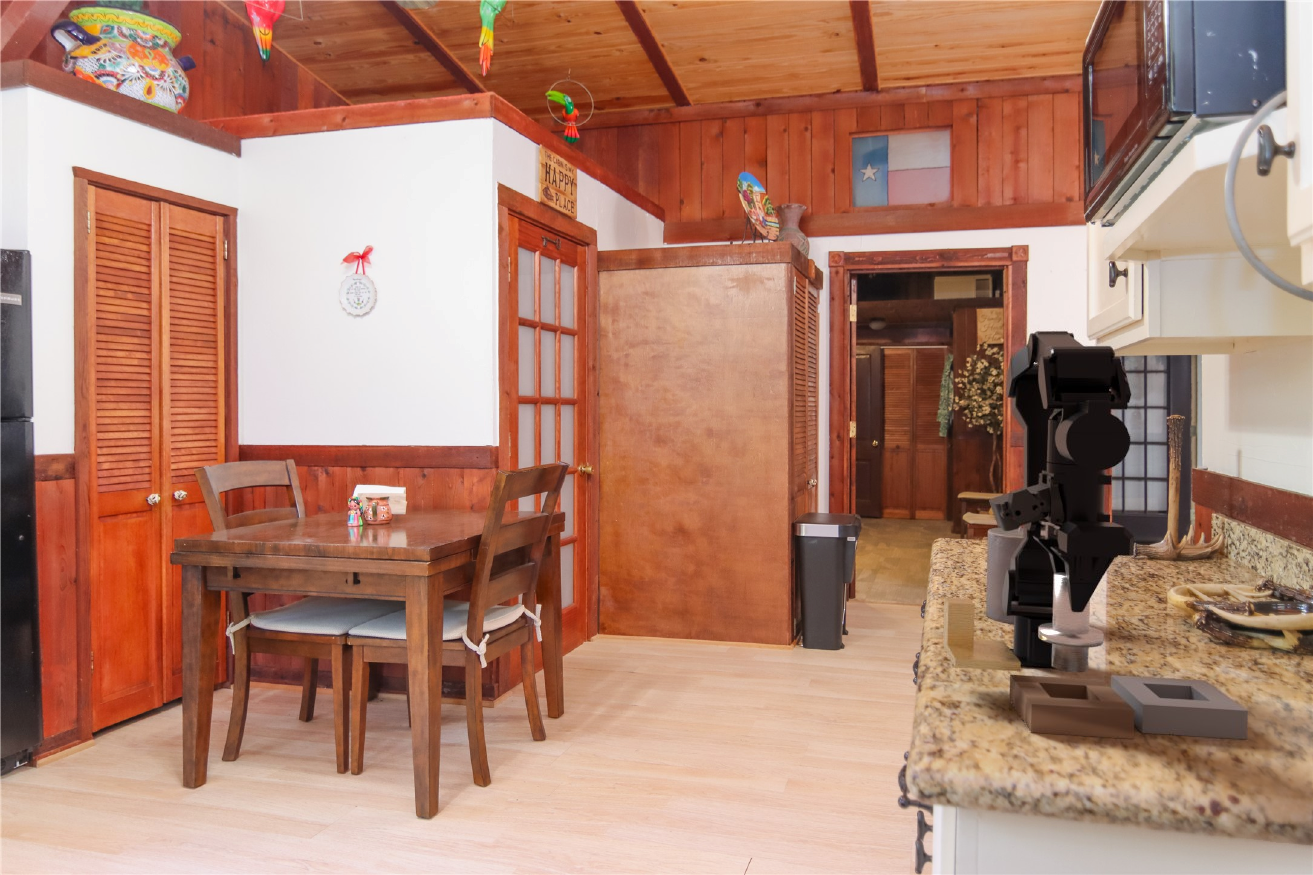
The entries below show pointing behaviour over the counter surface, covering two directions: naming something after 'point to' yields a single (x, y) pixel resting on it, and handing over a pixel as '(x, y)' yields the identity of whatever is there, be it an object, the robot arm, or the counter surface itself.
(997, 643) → the brass key
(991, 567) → the pillar candle
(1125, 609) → the counter surface
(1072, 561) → the robot arm
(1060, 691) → the walnut socket block
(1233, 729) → the grey square collar
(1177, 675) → the counter surface
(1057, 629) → the steel pin
